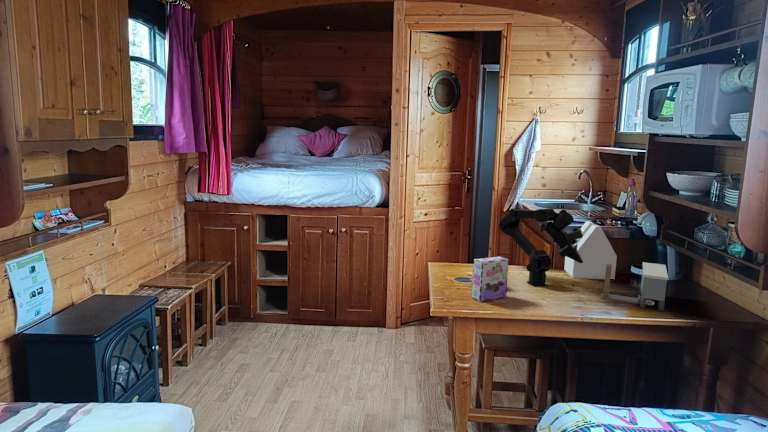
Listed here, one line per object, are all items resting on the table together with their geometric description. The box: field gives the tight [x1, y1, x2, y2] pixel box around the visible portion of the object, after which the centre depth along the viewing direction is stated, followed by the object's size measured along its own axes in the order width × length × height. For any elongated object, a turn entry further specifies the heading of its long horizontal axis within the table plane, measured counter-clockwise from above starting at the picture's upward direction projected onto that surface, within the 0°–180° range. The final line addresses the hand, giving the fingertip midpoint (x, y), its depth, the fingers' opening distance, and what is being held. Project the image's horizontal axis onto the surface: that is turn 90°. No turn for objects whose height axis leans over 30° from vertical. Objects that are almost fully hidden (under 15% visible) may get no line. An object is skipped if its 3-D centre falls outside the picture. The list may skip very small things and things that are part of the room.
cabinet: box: [639, 261, 669, 312], centre depth 213 cm, size 9×23×14 cm, turn 154°
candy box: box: [470, 256, 510, 302], centre depth 212 cm, size 14×6×16 cm, turn 117°
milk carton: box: [563, 220, 618, 280], centre depth 251 cm, size 19×15×25 cm
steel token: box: [646, 299, 655, 306], centre depth 211 cm, size 4×4×1 cm
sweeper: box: [599, 264, 642, 306], centre depth 215 cm, size 15×6×14 cm, turn 64°
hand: (582, 262), depth 220 cm, fingers closed
